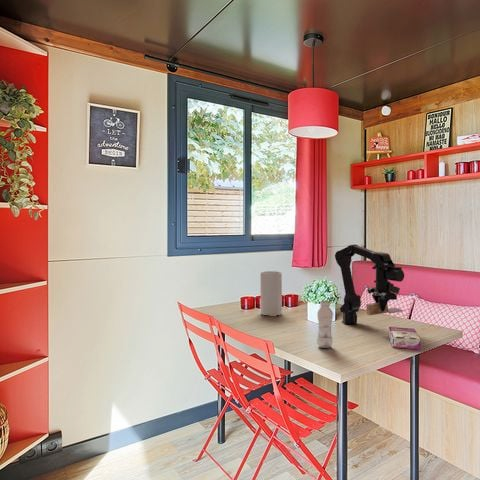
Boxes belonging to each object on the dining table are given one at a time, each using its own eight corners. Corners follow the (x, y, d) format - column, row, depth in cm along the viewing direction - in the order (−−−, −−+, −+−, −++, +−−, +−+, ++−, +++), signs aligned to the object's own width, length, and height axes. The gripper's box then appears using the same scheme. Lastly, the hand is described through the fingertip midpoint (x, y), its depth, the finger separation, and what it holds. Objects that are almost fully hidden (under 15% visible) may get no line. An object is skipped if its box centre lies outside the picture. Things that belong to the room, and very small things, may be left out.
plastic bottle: (315, 345, 164) (315, 300, 164) (330, 344, 165) (330, 299, 164) (319, 350, 158) (319, 303, 157) (335, 349, 159) (335, 302, 158)
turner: (371, 316, 179) (371, 305, 178) (364, 313, 184) (364, 303, 184) (403, 311, 182) (402, 301, 182) (395, 308, 188) (394, 298, 188)
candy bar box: (388, 337, 176) (391, 347, 160) (388, 326, 176) (392, 336, 160) (414, 339, 173) (420, 350, 157) (414, 328, 172) (420, 338, 157)
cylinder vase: (282, 316, 216) (282, 273, 215) (261, 316, 216) (260, 273, 215) (280, 311, 229) (280, 271, 228) (260, 311, 229) (260, 271, 228)
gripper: (408, 281, 174) (407, 314, 175) (388, 275, 192) (387, 306, 193) (385, 282, 173) (384, 315, 173) (367, 276, 191) (366, 306, 192)
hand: (381, 310), depth 183 cm, fingers closed on turner, 3 cm apart
